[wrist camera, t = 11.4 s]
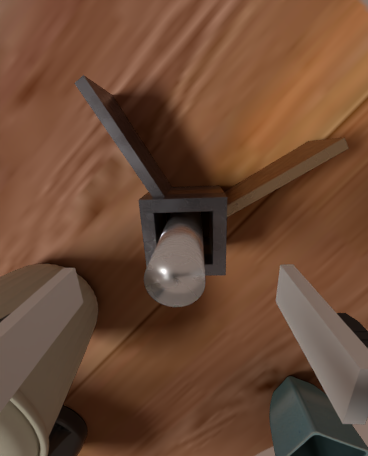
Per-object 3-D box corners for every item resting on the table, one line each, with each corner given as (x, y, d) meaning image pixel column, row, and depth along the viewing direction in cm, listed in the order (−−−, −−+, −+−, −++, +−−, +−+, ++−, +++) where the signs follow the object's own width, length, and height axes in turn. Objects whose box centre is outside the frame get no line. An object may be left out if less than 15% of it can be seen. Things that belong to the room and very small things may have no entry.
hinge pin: (171, 233, 28) (147, 306, 14) (169, 203, 26) (140, 254, 13) (201, 232, 27) (205, 307, 14) (201, 202, 26) (204, 253, 13)
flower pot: (331, 381, 35) (374, 453, 26) (300, 410, 38) (329, 484, 29) (285, 362, 34) (315, 432, 26) (257, 394, 37) (275, 466, 29)
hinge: (127, 247, 29) (106, 276, 22) (104, 95, 23) (65, 71, 16) (297, 244, 27) (329, 274, 20) (322, 80, 21) (379, 46, 14)
